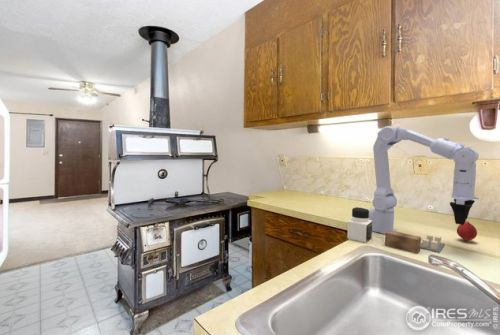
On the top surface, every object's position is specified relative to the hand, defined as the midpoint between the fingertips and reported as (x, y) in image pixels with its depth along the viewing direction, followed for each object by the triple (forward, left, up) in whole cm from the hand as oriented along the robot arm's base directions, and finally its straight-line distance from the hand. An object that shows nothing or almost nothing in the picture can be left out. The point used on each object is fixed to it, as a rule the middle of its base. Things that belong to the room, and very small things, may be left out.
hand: (461, 221), depth 87 cm
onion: (+1, +12, -10) cm, 16 cm away
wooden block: (-14, -13, -10) cm, 22 cm away
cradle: (-7, -4, -10) cm, 13 cm away
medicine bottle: (-29, -14, -10) cm, 34 cm away
